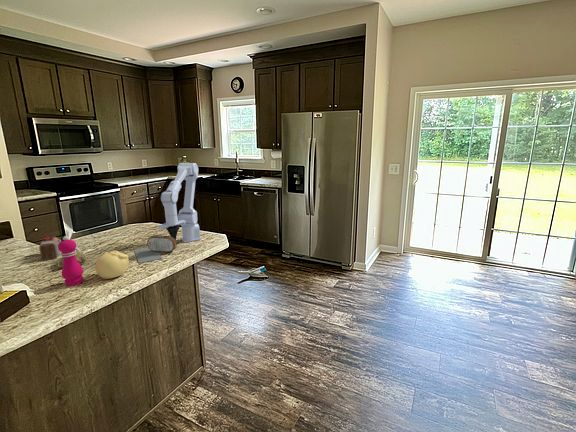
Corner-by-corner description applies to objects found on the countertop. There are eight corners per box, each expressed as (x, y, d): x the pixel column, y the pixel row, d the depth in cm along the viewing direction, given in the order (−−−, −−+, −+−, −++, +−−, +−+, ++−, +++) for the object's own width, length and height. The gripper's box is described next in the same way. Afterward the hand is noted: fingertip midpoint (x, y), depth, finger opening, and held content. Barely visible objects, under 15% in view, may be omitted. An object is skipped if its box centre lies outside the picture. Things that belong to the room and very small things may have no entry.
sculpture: (135, 271, 134) (131, 248, 132) (111, 283, 123) (107, 258, 121) (115, 268, 138) (111, 245, 135) (91, 279, 127) (86, 255, 124)
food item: (44, 252, 158) (40, 234, 155) (63, 249, 162) (59, 232, 159) (40, 261, 146) (36, 242, 144) (60, 258, 150) (56, 239, 148)
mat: (155, 246, 165) (155, 246, 165) (162, 258, 148) (162, 258, 148) (134, 250, 159) (134, 250, 159) (138, 263, 143) (138, 262, 143)
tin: (177, 251, 158) (176, 235, 156) (174, 253, 155) (173, 237, 153) (150, 249, 159) (148, 234, 157) (146, 251, 156) (145, 235, 154)
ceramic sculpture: (84, 239, 150) (82, 250, 138) (88, 255, 153) (85, 267, 140) (58, 243, 145) (53, 255, 133) (62, 259, 148) (57, 273, 136)
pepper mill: (70, 279, 128) (61, 233, 123) (88, 278, 128) (80, 233, 123) (59, 287, 121) (49, 239, 116) (78, 286, 121) (69, 238, 116)
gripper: (179, 210, 164) (182, 234, 167) (153, 216, 153) (156, 241, 156) (187, 212, 159) (189, 237, 163) (160, 218, 148) (163, 244, 152)
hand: (173, 239), depth 159 cm, fingers closed
